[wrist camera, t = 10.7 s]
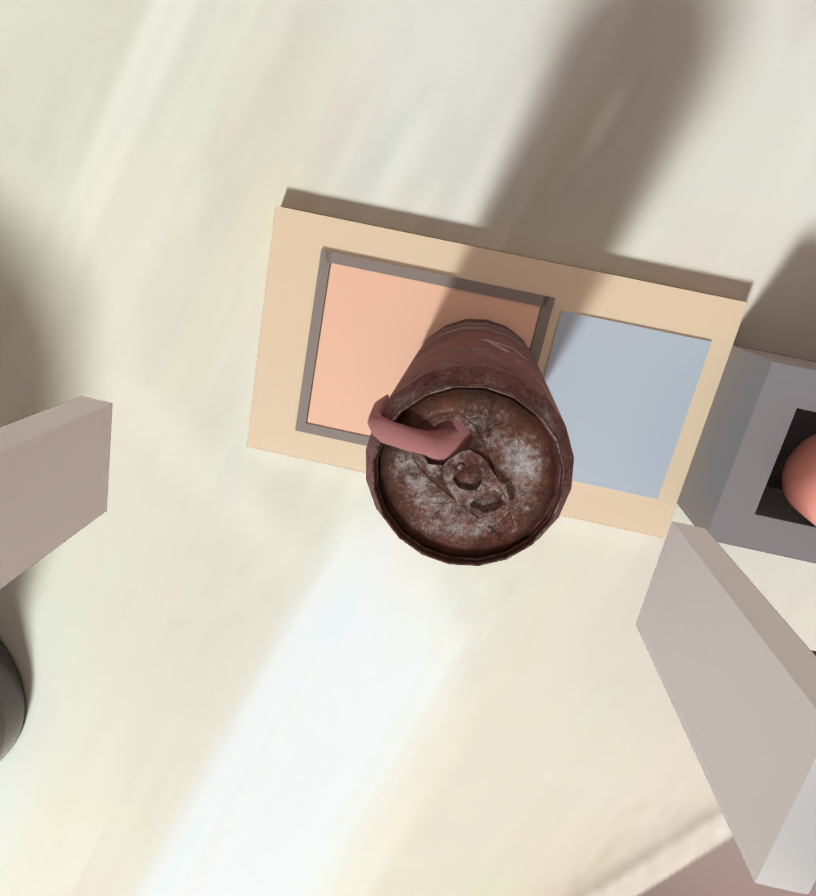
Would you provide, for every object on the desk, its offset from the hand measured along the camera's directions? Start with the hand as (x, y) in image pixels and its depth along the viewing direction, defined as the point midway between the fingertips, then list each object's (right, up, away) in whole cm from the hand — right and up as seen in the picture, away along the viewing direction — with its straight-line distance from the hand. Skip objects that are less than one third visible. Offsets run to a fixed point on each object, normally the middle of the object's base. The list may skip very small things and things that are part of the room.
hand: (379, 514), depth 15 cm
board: (+4, +5, +17) cm, 18 cm away
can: (+4, +5, +17) cm, 18 cm away
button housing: (+19, +2, +17) cm, 25 cm away
